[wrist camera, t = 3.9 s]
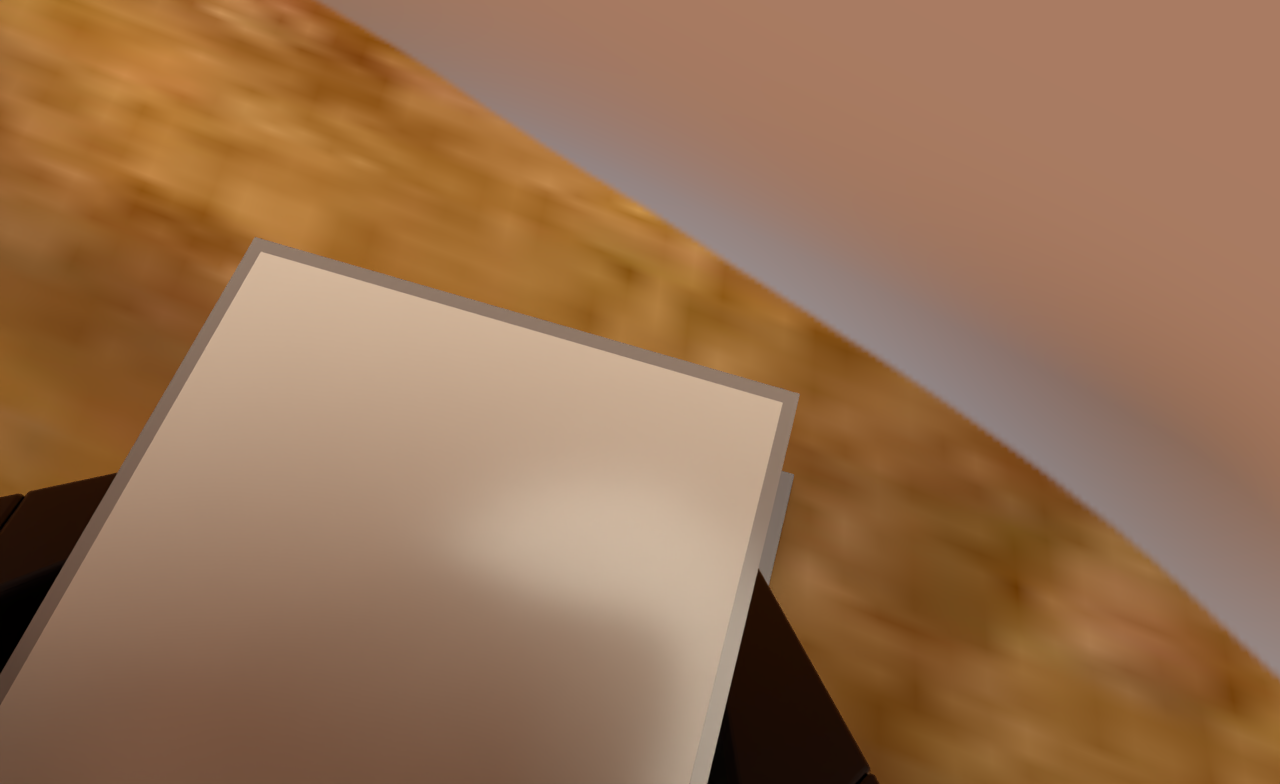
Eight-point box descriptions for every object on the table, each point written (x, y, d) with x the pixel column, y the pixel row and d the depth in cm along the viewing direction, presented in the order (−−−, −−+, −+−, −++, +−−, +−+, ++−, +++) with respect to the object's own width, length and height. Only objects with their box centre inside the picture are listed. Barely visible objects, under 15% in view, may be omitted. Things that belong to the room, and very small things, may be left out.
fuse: (619, 788, 14) (622, 1139, 4) (417, 719, 14) (-113, 864, 4) (678, 575, 15) (800, 394, 5) (493, 517, 16) (255, 237, 5)
